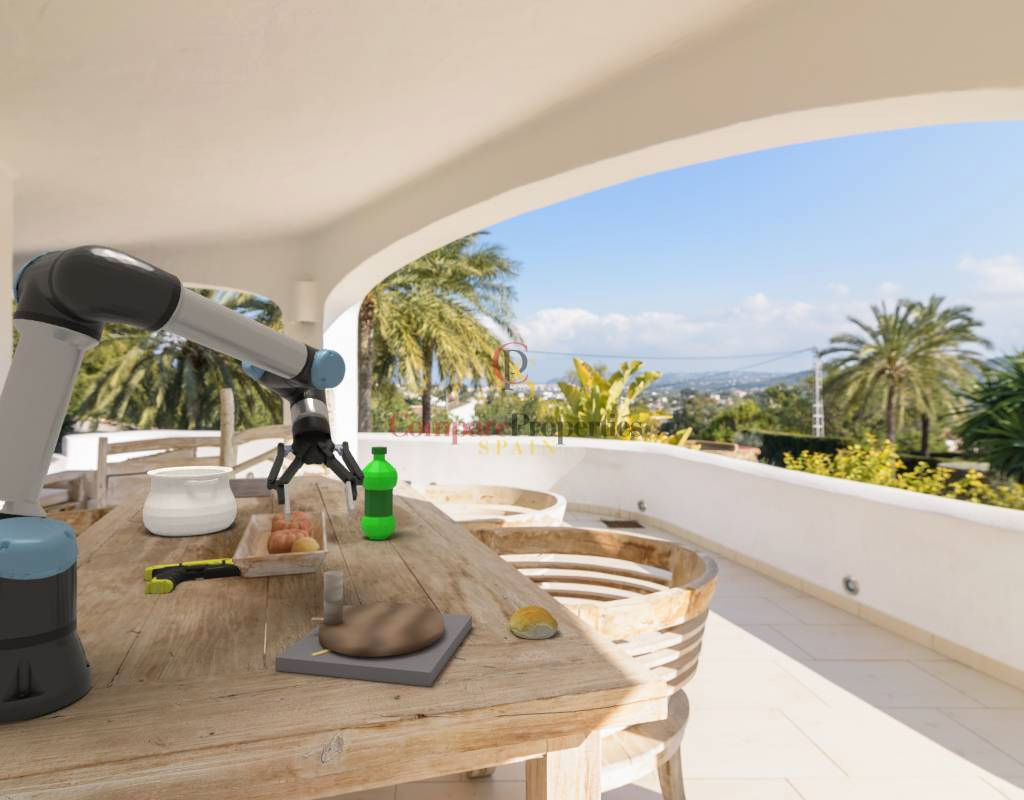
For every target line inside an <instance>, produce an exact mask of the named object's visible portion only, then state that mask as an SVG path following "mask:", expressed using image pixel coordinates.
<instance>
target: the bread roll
mask: <svg viewBox="0 0 1024 800" xmlns="http://www.w3.org/2000/svg"><path fill="white" fill-rule="evenodd" d="M508 626H509V630H511V632H512V633H513V634H514V635H515V636H516V637H519V638H522V639H526V640H544V639H549V638H551V637H553V636H554V635H555V634H557V631H558V629H559V624H558V621H557V619H556V618H554V616H552V614H551V613H550V612H549V611H548V610H547V609H545V608H544V607H541V606H536V605H532V606H531V605H530V606H529V605H528V606H523V607H521V608H519V609H518V610H515V612H514V613H513V614H512V615H511V616H510V619H509V621H508Z"/></svg>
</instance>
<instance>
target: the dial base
mask: <svg viewBox="0 0 1024 800" xmlns="http://www.w3.org/2000/svg"><path fill="white" fill-rule="evenodd" d="M353 606H354V605H349V604H347V605H346V604H345V605H343V609H346V608H349V607H353ZM439 613H440V614H441V615H442V616H443V618H444V633H443V635H442V637H441V638H440V639H439V640H438V641H436V642H435V643H433V644H431V645H429V646H427V647H425V648H422V649H420V650H416V651H413V652H409V653H404V654H399V655H391V656H378V657H366V656H353V655H347V654H342V653H338V652H335V651H332V650H330V649H328V648H326V647H325V646H323V645H322V644H321V643H320V641H319V624H318V625H317V626H316V627H314V628H313V629H311V630H310V631H309V632H307V633H306V634H305V635H304V636H302V637H300V638H299V639H298V640H297V641H295V642H294V643H293V644H292V645H290V646H288V647H287V648H286V649H285V650H283V651H282V652H280V653H279V654H278V655H277V656H275V671H277V672H286V673H287V672H288V673H296V674H304V675H314V676H325V677H334V678H335V677H336V678H343V679H353V680H354V679H355V680H361V681H362V680H363V681H373V682H384V683H392V684H401V685H403V684H404V685H412V686H420V687H431V686H432V685H433V684H434V681H435V680H436V679H437V677H438V676H439V674H440V673H441V671H443V669H444V667H445V666H446V664H447V663H448V662H449V660H450V659H451V657H452V656H453V654H454V653H455V652H456V650H457V649H458V648H459V646H461V643H462V642H463V641H464V639H465V638H466V636H467V635H468V633H469V632H470V630H471V629H472V628H473V615H470V614H469V615H468V614H467V615H466V614H457V613H456V614H455V613H446V612H444V613H443V612H439Z"/></svg>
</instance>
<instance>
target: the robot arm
mask: <svg viewBox="0 0 1024 800" xmlns="http://www.w3.org/2000/svg"><path fill="white" fill-rule="evenodd" d="M12 287H13V288H12V290H13V291H12V292H13V293H12V294H13V299H14V301H15V303H16V304H17V306H16V309H15V312H14V315H13V318H12V321H11V323H12V325H13V326H14V327H15V329H16V331H17V332H18V334H19V338H18V342H17V345H16V348H15V352H14V354H13V357H12V361H11V363H10V366H9V369H8V372H7V376H6V379H5V380H4V381H5V382H4V385H3V387H2V390H1V394H0V724H6V723H13V722H17V721H18V722H19V721H24V720H27V719H31V718H36V717H39V716H42V715H45V714H49V713H52V712H55V711H57V710H60V709H61V708H65V707H66V706H68V705H70V704H73V703H75V702H76V701H77V700H79V699H81V698H82V697H83V696H85V695H86V694H87V693H88V692H89V691H90V690H91V688H92V685H93V669H92V666H91V663H90V662H89V660H87V655H86V651H85V649H84V646H83V643H82V641H81V638H80V636H79V634H78V557H79V546H78V543H77V535H76V534H77V533H76V530H75V529H74V528H73V526H72V525H71V524H69V523H68V522H65V521H63V520H61V519H57V518H52V517H47V515H48V514H47V512H46V510H45V509H44V508H43V507H42V505H41V503H40V498H41V494H42V491H43V489H44V488H43V487H44V485H45V481H46V479H47V476H48V472H49V469H50V467H51V466H50V465H51V463H52V460H53V456H54V453H55V450H56V447H57V444H58V440H59V437H60V433H61V431H62V428H63V427H62V426H63V424H64V422H65V417H66V416H67V415H66V414H67V411H68V409H69V404H70V401H71V398H72V395H73V392H74V388H75V385H76V382H77V379H78V376H79V372H80V369H81V366H82V363H83V360H84V356H85V353H86V352H88V351H90V350H92V349H94V348H96V347H98V346H99V345H100V342H101V339H102V335H103V332H104V330H105V326H106V324H108V323H109V324H110V323H111V324H120V325H121V324H123V325H128V326H132V327H137V328H140V329H143V330H145V331H148V332H150V333H158V332H160V331H162V330H163V331H166V332H168V333H170V334H173V335H176V336H178V337H180V338H183V339H185V340H187V341H190V342H193V343H196V344H198V345H201V346H202V347H205V348H208V349H211V350H214V351H216V352H218V353H221V354H224V355H226V356H228V357H230V358H234V359H236V360H238V361H241V370H242V371H243V372H244V374H246V375H247V376H249V377H250V378H251V379H252V380H253V381H255V382H257V383H259V384H261V385H262V386H263V387H265V388H267V389H269V391H272V392H273V393H275V394H277V395H278V396H280V397H281V398H283V399H284V400H287V401H288V403H289V408H290V409H289V410H290V411H289V412H290V418H291V432H292V433H291V434H292V436H291V437H292V444H289V445H288V444H286V445H285V444H284V443H283V442H278V443H277V447H276V449H277V450H276V456H275V458H274V461H273V464H272V466H271V469H270V470H269V474H268V476H267V480H266V489H267V490H269V491H271V490H274V491H276V494H277V504H278V505H279V506H280V505H282V506H283V508H284V509H283V510H284V522H290V521H291V501H290V500H291V498H290V487H289V486H290V485H289V484H290V482H291V481H292V479H293V478H294V477H295V475H296V474H297V472H299V470H300V469H301V468H302V467H303V466H304V464H305V466H310V465H324V466H325V467H326V468H328V469H329V470H331V471H332V473H334V475H336V476H337V477H338V478H339V480H340V481H342V483H343V484H344V485H345V487H344V494H345V495H344V496H345V502H346V509H347V515H348V518H353V516H354V512H355V505H354V501H356V500H357V498H358V487H360V486H361V485H362V484H363V481H364V474H363V472H362V470H363V469H361V467H360V465H359V463H358V462H357V461H356V459H355V457H354V456H353V454H352V453H351V451H350V446H349V442H348V441H346V440H345V441H342V443H341V444H339V443H336V444H335V443H334V442H333V440H332V433H331V426H330V419H329V411H328V404H327V396H326V389H333V388H336V387H338V386H339V385H340V384H341V383H342V382H343V380H344V378H345V375H346V363H345V360H344V357H343V356H342V354H340V353H339V352H338V351H335V350H333V349H326V348H320V349H319V348H316V347H313V346H311V345H309V344H307V343H304V342H302V341H300V340H298V339H295V338H293V337H291V336H289V335H287V334H284V333H282V332H280V331H278V330H276V329H273V328H272V327H270V326H267V325H265V324H263V323H261V322H259V321H257V320H255V319H253V318H250V317H248V316H246V315H244V314H242V313H240V312H237V311H236V310H234V309H231V308H230V307H227V306H225V305H223V304H221V303H219V302H216V301H215V300H212V299H210V298H208V297H206V296H204V295H203V294H200V293H197V292H196V291H194V290H191V289H189V288H186V287H185V286H184V285H183V281H182V280H181V278H179V277H178V276H176V275H174V274H172V273H170V272H168V271H166V270H164V269H162V268H160V267H157V266H155V265H153V264H152V263H149V262H147V261H145V260H143V259H141V258H139V257H136V256H134V255H131V254H129V253H127V252H125V251H122V250H118V249H116V248H113V247H110V246H104V245H98V244H87V245H82V246H76V247H74V248H68V249H63V250H53V251H52V250H51V251H48V252H44V253H41V254H39V255H37V256H34V258H32V259H30V260H29V261H27V262H26V263H24V264H23V265H22V266H21V268H20V269H19V270H18V272H17V273H16V275H15V277H14V281H13V286H12ZM334 452H337V454H338V456H340V457H341V459H342V461H343V463H344V464H345V466H346V467H345V466H344V465H343V463H341V462H340V461H339V459H337V457H336V456H335V454H334ZM289 453H292V455H294V456H295V457H294V459H293V460H292V462H291V463H290V464H289V465H288V467H287V468H286V469H285V471H284V472H283V474H282V475H281V476H280V477H279V473H280V471H281V468H282V466H283V464H284V459H285V458H286V457H288V455H289ZM278 477H279V479H278ZM357 486H358V487H357ZM361 487H362V486H361Z"/></svg>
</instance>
